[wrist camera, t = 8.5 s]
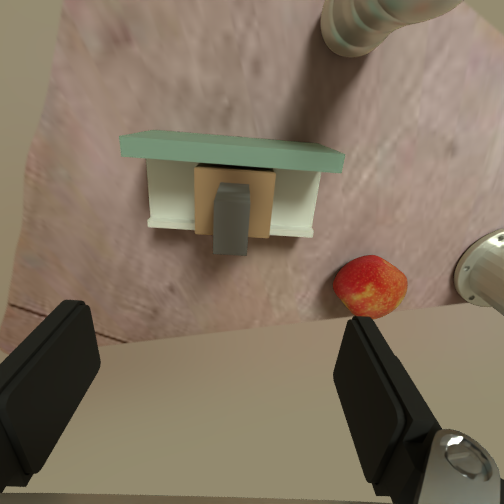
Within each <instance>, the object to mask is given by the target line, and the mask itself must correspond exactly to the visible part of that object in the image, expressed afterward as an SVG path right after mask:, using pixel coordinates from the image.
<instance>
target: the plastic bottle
mask: <svg viewBox="0 0 504 504" xmlns="http://www.w3.org/2000/svg"><path fill="white" fill-rule="evenodd" d="M463 1H464V0H325V2H324V5H323V9H322V14H321V33H322V36H323V39H324V41H325V43H326V45H327V46H328V48H329V49H330V50H331V51H333V52H334V53H335V54H337V55H340V56H342V57H360V56H363V55H366V54H368V53H369V52H371V51H373V50H374V49H375V48H376V47H378V46H379V45H380V44H381V43H382V42H383V41H384V40H385V39H386V38H387V36H388V35H389V34H390V33H392V32H393V31H394V30H396V29H399V28H401V27H404V26H406V25H411V24H415V23H420V22H424V21H427V20H430V19H433V18H436V17H438V16H441V15H443V14H445V13H447V12H449V11H451V10H452V9H454V8H455V7H456V6H458V5H459V4H460V3H461V2H463Z"/></svg>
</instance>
